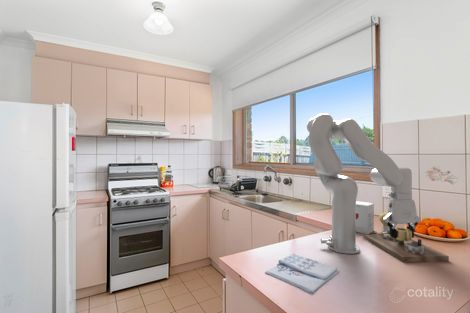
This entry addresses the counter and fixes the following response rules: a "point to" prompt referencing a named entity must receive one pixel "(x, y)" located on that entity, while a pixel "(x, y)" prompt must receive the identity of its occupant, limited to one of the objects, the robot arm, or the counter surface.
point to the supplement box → (364, 217)
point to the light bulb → (384, 226)
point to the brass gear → (403, 234)
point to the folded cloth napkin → (313, 270)
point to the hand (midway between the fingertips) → (401, 236)
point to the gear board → (405, 248)
